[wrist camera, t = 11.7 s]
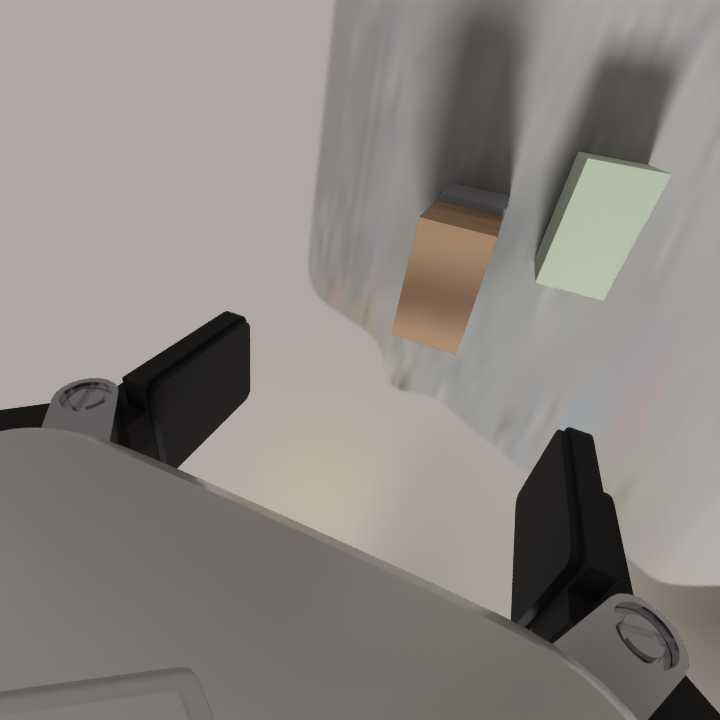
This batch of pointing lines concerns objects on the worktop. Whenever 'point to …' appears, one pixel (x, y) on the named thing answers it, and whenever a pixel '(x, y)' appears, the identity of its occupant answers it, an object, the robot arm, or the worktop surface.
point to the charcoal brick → (475, 199)
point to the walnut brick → (444, 274)
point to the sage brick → (596, 223)
